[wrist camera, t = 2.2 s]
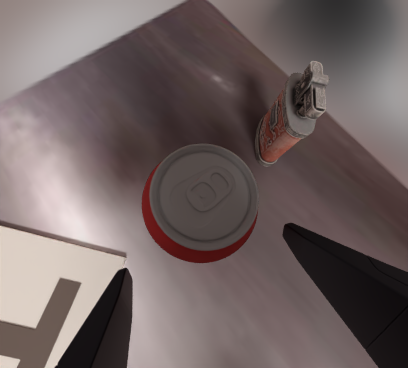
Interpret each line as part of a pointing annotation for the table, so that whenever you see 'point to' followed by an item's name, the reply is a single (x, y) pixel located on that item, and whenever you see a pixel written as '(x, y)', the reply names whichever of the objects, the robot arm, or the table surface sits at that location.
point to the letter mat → (46, 295)
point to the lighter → (291, 114)
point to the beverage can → (200, 203)
